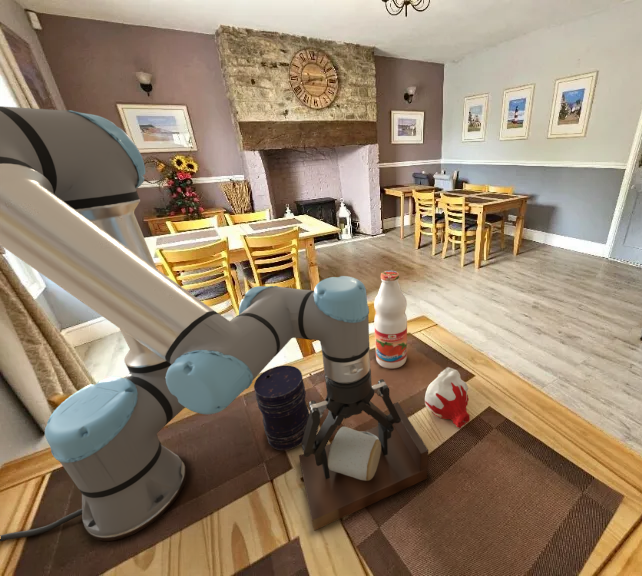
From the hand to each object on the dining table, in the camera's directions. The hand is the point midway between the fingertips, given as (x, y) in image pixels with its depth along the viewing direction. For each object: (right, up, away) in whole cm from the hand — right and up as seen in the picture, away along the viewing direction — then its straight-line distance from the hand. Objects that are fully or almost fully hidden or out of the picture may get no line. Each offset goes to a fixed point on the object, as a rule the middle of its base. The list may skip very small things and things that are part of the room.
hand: (355, 460), depth 60 cm
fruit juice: (+8, +12, +34) cm, 37 cm away
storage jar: (-16, 0, +11) cm, 20 cm away
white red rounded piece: (+21, +3, +15) cm, 26 cm away
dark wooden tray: (+1, -3, +2) cm, 4 cm away
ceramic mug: (+1, 0, 0) cm, 1 cm away
